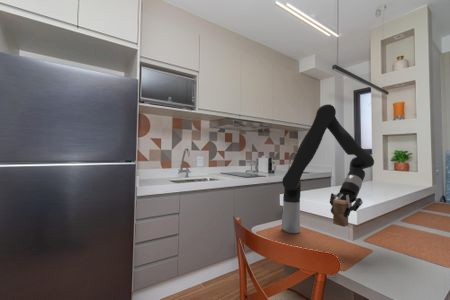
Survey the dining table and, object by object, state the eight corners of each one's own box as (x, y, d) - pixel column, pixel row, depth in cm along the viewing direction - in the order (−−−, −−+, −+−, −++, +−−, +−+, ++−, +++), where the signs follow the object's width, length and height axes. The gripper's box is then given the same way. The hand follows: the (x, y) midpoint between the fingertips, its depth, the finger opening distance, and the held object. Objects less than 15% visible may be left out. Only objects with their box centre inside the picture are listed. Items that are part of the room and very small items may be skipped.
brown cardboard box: (333, 223, 96) (333, 199, 97) (337, 222, 98) (337, 199, 99) (344, 226, 92) (344, 202, 92) (348, 225, 94) (348, 201, 94)
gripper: (333, 179, 106) (320, 206, 99) (365, 183, 94) (352, 213, 87) (339, 189, 109) (326, 215, 102) (370, 193, 97) (358, 224, 90)
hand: (338, 214), depth 94 cm, fingers closed on brown cardboard box, 5 cm apart
